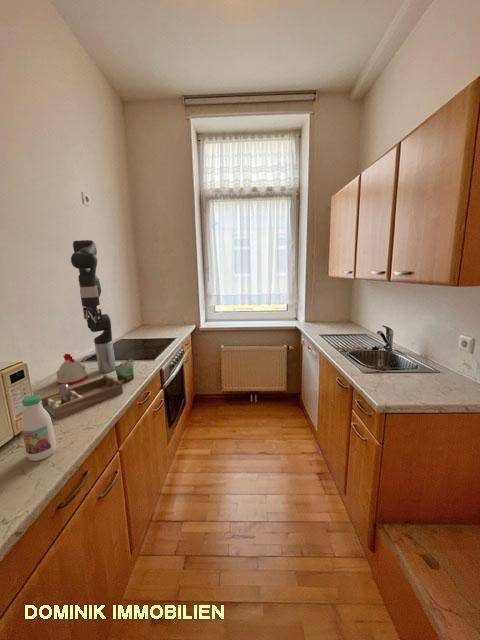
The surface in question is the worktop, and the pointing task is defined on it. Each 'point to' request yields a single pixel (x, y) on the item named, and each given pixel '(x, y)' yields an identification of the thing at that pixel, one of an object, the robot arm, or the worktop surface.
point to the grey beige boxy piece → (63, 397)
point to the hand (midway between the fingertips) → (94, 329)
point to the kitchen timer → (71, 371)
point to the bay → (86, 396)
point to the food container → (125, 371)
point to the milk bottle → (37, 429)
